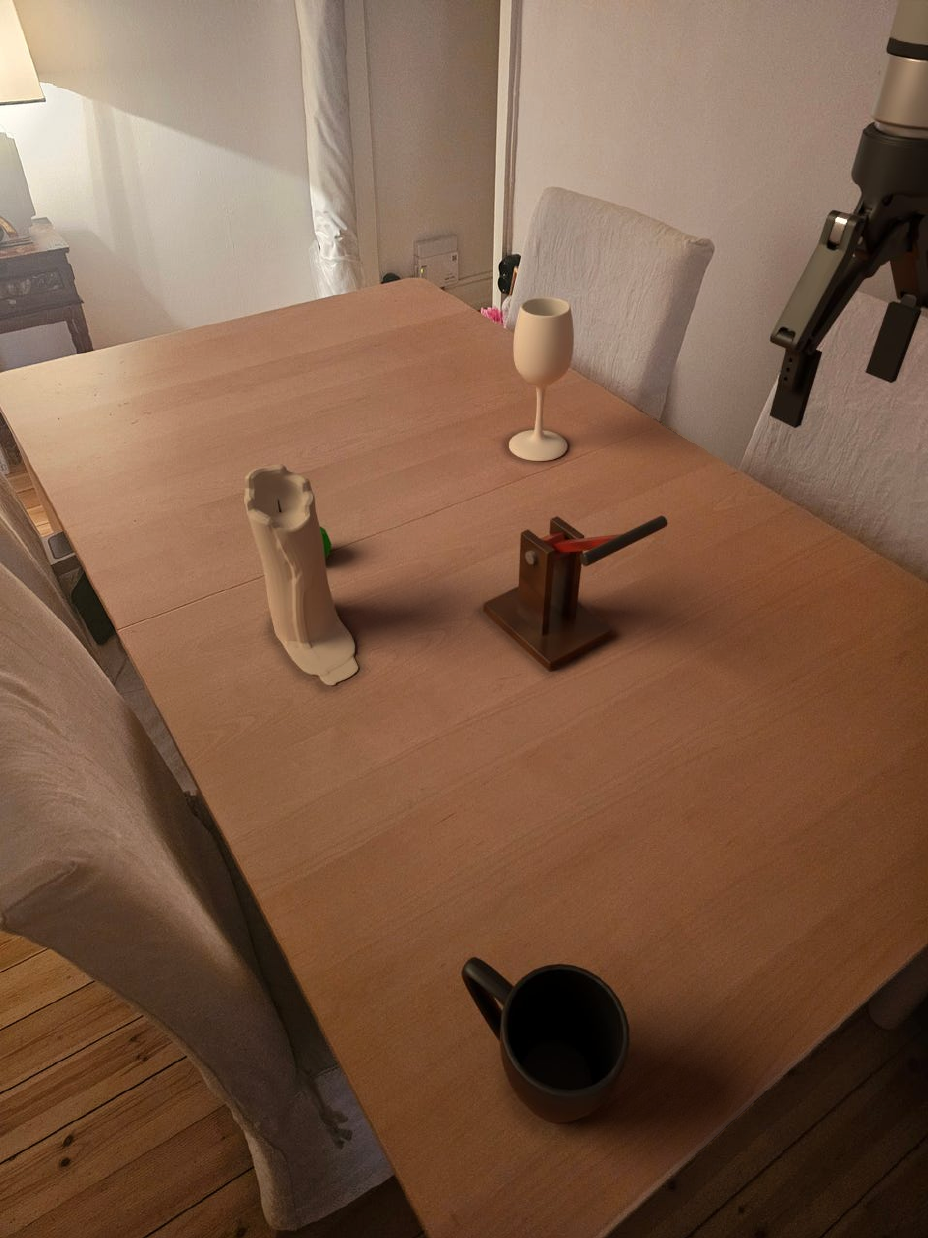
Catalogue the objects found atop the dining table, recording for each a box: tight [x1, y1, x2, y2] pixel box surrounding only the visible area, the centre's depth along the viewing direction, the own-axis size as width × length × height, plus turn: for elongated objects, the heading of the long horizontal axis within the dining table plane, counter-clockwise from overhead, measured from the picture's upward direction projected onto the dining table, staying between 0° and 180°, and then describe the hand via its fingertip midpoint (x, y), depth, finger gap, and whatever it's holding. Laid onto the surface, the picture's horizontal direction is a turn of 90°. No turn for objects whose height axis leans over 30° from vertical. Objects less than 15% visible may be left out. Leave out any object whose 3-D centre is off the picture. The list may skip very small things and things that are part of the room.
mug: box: [461, 956, 631, 1124], centre depth 56 cm, size 8×12×10 cm
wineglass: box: [508, 296, 575, 462], centre depth 115 cm, size 9×9×21 cm
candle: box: [243, 463, 359, 686], centre depth 85 cm, size 7×14×20 cm, turn 32°
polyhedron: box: [319, 525, 332, 559], centre depth 101 cm, size 5×5×5 cm
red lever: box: [539, 515, 668, 567], centre depth 81 cm, size 14×10×2 cm
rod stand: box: [482, 515, 613, 672], centre depth 89 cm, size 12×9×13 cm
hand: (834, 398), depth 73 cm, fingers open, 13 cm apart
